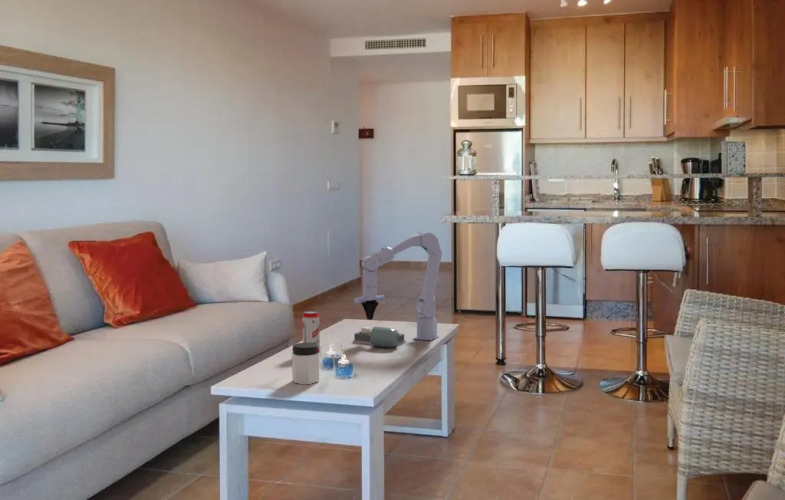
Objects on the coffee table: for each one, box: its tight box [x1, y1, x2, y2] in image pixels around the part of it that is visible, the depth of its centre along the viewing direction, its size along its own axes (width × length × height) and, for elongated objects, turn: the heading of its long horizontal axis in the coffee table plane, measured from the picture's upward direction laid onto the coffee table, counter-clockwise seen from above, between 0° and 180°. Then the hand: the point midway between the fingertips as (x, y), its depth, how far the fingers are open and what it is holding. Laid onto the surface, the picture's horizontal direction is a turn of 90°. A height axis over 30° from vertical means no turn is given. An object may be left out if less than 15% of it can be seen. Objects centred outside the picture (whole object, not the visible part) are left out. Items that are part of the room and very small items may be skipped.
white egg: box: [360, 326, 372, 334], centre depth 319 cm, size 4×4×3 cm
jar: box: [291, 342, 320, 385], centre depth 255 cm, size 9×8×12 cm
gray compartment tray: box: [352, 330, 407, 347], centre depth 317 cm, size 8×20×3 cm, turn 65°
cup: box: [370, 326, 400, 348], centre depth 307 cm, size 8×8×10 cm
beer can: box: [302, 310, 321, 354], centre depth 295 cm, size 6×6×16 cm
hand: (369, 319), depth 318 cm, fingers closed
